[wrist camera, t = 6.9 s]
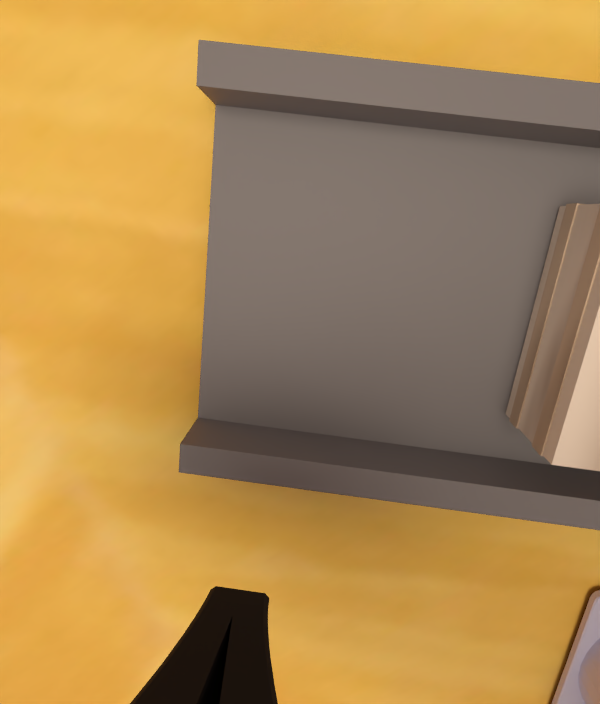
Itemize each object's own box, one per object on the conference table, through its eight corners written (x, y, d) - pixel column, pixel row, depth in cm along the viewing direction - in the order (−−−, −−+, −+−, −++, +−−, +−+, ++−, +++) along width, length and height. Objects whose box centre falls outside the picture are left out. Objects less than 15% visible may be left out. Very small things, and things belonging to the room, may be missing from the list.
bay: (827, 138, 16) (939, 120, 13) (681, 501, 20) (741, 549, 17) (222, 71, 16) (198, 39, 13) (200, 436, 20) (178, 472, 17)
